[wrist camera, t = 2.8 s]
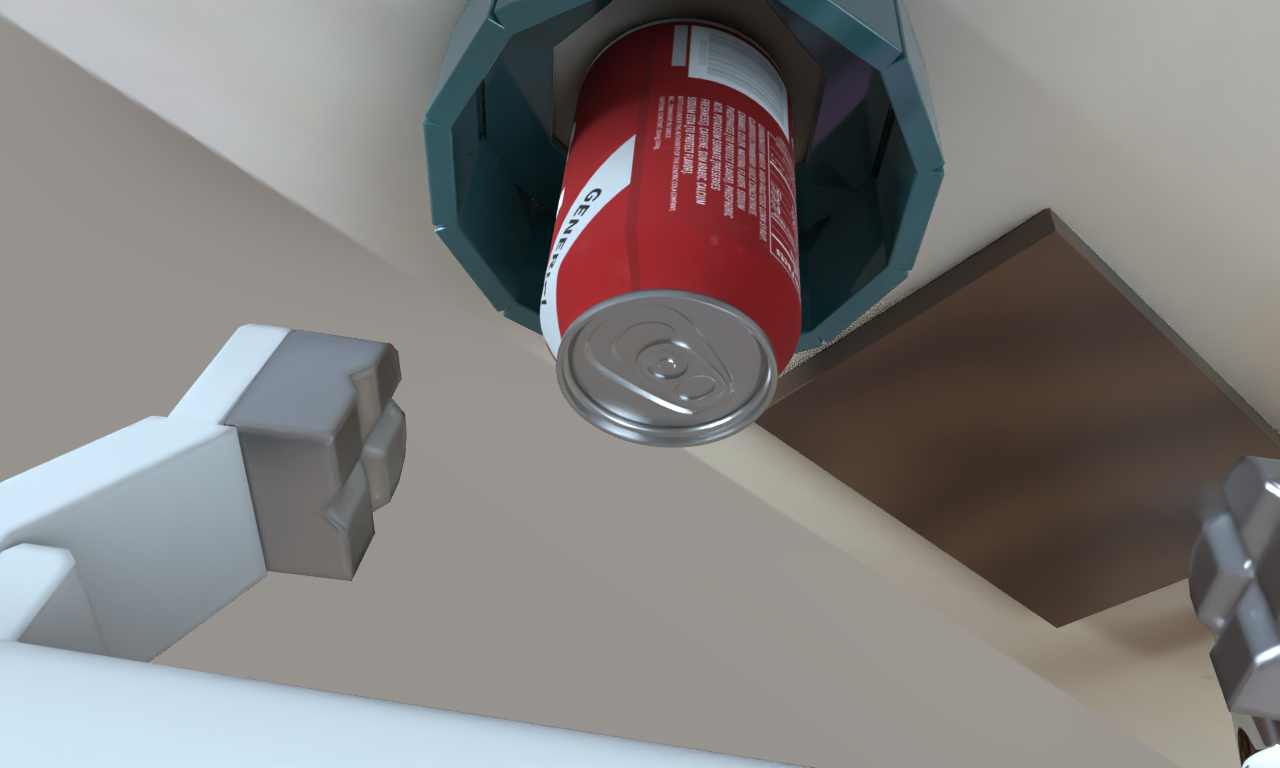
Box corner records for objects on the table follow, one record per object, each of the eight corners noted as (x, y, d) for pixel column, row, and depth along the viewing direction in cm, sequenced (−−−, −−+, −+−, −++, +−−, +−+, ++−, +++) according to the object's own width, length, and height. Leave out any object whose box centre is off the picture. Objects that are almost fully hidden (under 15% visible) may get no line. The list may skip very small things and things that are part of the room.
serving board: (1339, 493, 48) (1349, 516, 47) (1052, 607, 56) (1056, 628, 55) (1048, 206, 38) (1055, 229, 37) (749, 397, 46) (749, 419, 45)
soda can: (697, -40, 32) (681, 229, 24) (833, 115, 35) (858, 394, 27) (536, 90, 36) (474, 362, 27) (673, 219, 39) (654, 493, 31)
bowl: (978, -102, 30) (1007, -10, 27) (861, 291, 41) (872, 391, 38) (443, -154, 30) (404, -69, 27) (467, 253, 41) (443, 350, 38)
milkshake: (1194, 583, 53) (1259, 787, 47) (1310, 587, 53) (1392, 793, 46) (1165, 631, 57) (1222, 828, 50) (1274, 635, 56) (1345, 834, 50)
